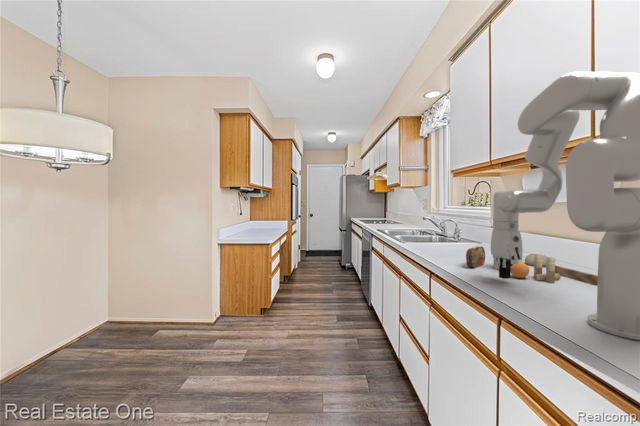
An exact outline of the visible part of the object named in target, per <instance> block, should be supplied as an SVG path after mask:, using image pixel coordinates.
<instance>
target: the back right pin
mask: <svg viewBox="0 0 640 426" xmlns="http://www.w3.org/2000/svg"><path fill="white" fill-rule="evenodd" d="M546 257H547V256H546ZM555 265H556V258H555V257H547V258H546V267H545V274H546V281H545V282H546V283H548V284H554V283H556V282H555V281H556V280H555Z"/></svg>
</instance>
